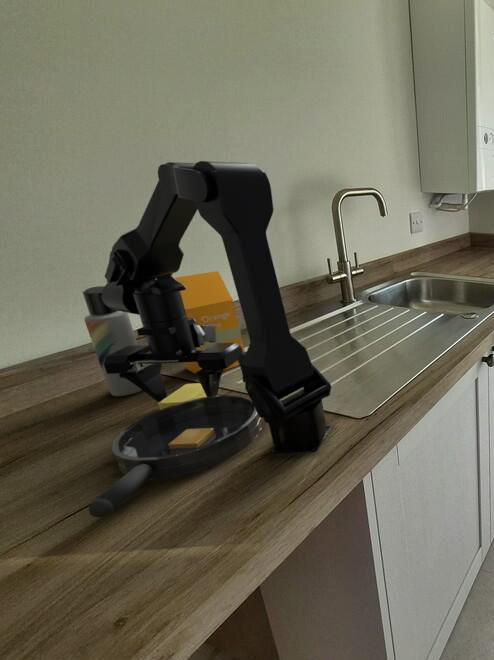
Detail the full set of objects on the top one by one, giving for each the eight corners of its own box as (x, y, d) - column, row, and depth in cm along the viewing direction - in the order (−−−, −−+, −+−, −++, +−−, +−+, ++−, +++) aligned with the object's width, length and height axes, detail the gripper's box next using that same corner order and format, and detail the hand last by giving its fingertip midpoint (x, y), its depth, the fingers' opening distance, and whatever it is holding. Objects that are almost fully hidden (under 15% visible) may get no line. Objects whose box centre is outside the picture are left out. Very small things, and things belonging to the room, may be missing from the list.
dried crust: (214, 432, 64) (213, 427, 63) (198, 447, 60) (196, 443, 59) (187, 433, 63) (186, 428, 63) (169, 449, 59) (167, 444, 59)
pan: (282, 410, 70) (278, 392, 69) (222, 478, 54) (216, 456, 53) (177, 415, 69) (171, 396, 68) (84, 486, 53) (74, 463, 52)
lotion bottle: (146, 379, 82) (115, 282, 76) (153, 388, 78) (121, 287, 72) (108, 390, 78) (71, 288, 71) (113, 400, 74) (76, 293, 68)
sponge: (190, 398, 75) (186, 383, 74) (216, 397, 75) (212, 382, 74) (162, 419, 68) (157, 403, 67) (190, 417, 68) (186, 402, 67)
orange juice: (186, 368, 87) (159, 276, 80) (231, 354, 94) (210, 269, 87) (201, 377, 83) (175, 281, 76) (248, 362, 90) (227, 273, 83)
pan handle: (159, 474, 53) (154, 460, 52) (107, 521, 46) (101, 505, 45) (141, 475, 53) (136, 461, 52) (86, 522, 46) (79, 506, 45)
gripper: (250, 302, 75) (267, 379, 79) (142, 305, 73) (166, 383, 78) (212, 321, 64) (234, 409, 69) (85, 325, 63) (117, 414, 68)
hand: (189, 402), depth 71 cm, fingers open, 8 cm apart
